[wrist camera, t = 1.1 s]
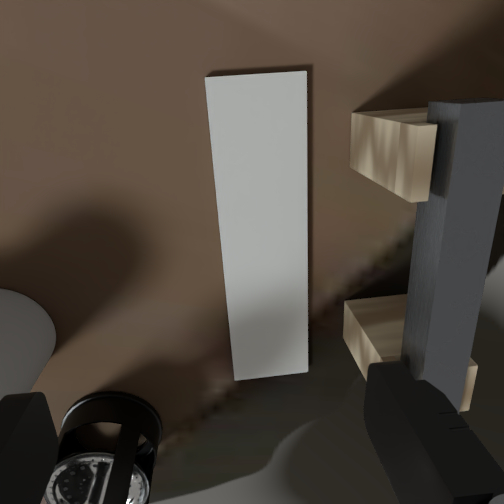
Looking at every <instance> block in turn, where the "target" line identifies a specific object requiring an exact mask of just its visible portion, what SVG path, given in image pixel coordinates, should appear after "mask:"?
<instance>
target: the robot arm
mask: <svg viewBox="0 0 504 504" xmlns="http://www.w3.org/2000/svg"><path fill="white" fill-rule="evenodd" d="M364 420H365V425H366V429H367V432H368V435H369V437H370V439H371V441H372V444H373V446H374V448H375V450H376V453H377V455H378V457H379V459H380V462H381V464H382V466H383V468H384V470H385V473H386V475H387V477H388V479H389V481H390V484H391V486H392V488H393V490H394V492H395V495H396V497H397V499H398V501H399V504H504V472H503V470H502V469H501V468H500V466H499V465H498V464H497V462H496V461H495V460H494V458H493V457H492V456H491V455H490V453H489V452H488V451H487V449H486V448H485V447H484V445H483V444H482V443H481V441H480V440H479V439H478V437H477V436H476V435H475V433H474V432H473V431H472V430H470V429H469V426H468V424H467V423H466V422H465V420H464V419H463V418H462V416H461V415H458V411H457V410H456V408H455V407H454V406H453V404H452V403H451V402H450V400H449V399H448V398H447V397H446V395H445V394H444V393H443V392H441V391H440V390H439V389H437V388H436V387H435V386H433V385H432V384H430V383H429V382H428V381H426V380H415V379H414V377H413V376H412V375H411V373H410V372H409V370H408V369H407V367H406V366H405V365H404V363H403V362H402V361H399V360H398V361H387V362H376V363H370V364H369V366H368V372H367V382H366V391H365V401H364ZM58 451H59V443H58V437H57V433H56V430H55V427H54V423H53V420H52V417H51V413H50V410H49V407H48V404H47V400H46V397H45V395H44V394H43V393H42V392H31V393H20V394H9V395H6V396H4V397H3V398H2V399H1V400H0V504H40V503H41V501H42V498H43V496H44V493H45V491H46V488H47V486H48V483H49V481H50V478H51V476H52V473H53V471H54V469H55V466H56V463H57V458H58Z"/></svg>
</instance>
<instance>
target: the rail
mask: <svg viewBox="0 0 504 504" xmlns="http://www.w3.org/2000/svg"><path fill="white" fill-rule="evenodd" d="M426 123H430V124H436V125H437V131H436V139H435V147H434V155H433V164H432V172H431V180H430V188H429V197H428V201H422V202H418V203H417V212H416V221H415V230H414V239H413V248H412V257H411V266H410V275H409V284H408V293H407V303H406V312H405V321H404V330H403V339H402V348H401V357H400V361H402V362H403V363H404V365H405V366H406V367H407V369H408V370H409V372H410V373H411V375H412V376H413V377H414V379H415V380H426V381H428V382H429V383H430V384H432V385H433V386H435V387H436V388H437V389H439V390H440V391H441V392H443V393H444V394H445V395H446V397H447V398H448V399H449V400H450V402H451V403H452V404H453V406H454V407H455V408H456V410H457V411H458V415H459V410H460V405H461V400H462V395H463V390H464V385H465V380H466V375H467V370H468V365H469V360H470V355H471V350H472V344H473V339H474V334H475V329H476V324H477V319H478V314H479V309H480V304H481V298H482V294H483V288H484V283H485V278H486V273H487V268H488V263H489V258H490V253H491V248H492V243H493V238H494V233H495V228H496V223H497V217H498V212H499V207H500V202H501V197H502V192H503V187H504V99H497V98H469V99H455V100H441V101H429V103H428V112H427V121H426Z"/></svg>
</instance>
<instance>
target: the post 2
mask: <svg viewBox="0 0 504 504" xmlns="http://www.w3.org/2000/svg"><path fill="white" fill-rule="evenodd" d="M406 303H407V294H402V295H393V296H384V297H375V298H365V299H356V300H347V301H345V302H344V328H343V338H344V340H345V342H346V344H347V346H348V348H349V350H350V351H351V353H352V355H353V357H354V359H355V361H356V363H357V364H358V366H359V368H360V370H361V372H362V374H363V376H364V377H365V379H366V381H367V372H368V366H369V364H370V363H376V362H387V361H398V360H399V361H400V357H401V348H402V339H403V330H404V321H405V312H406ZM477 368H478V365H477V364H476V363H475V362H474V361H473V360H472V359H471V358H470V360H469V365H468V370H467V375H466V380H465V385H464V390H463V395H462V400H461V405H460V410H459V411H467V410H469V407H470V402H471V396H472V392H473V387H474V383H475V378H476V373H477Z"/></svg>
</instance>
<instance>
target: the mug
mask: <svg viewBox="0 0 504 504" xmlns="http://www.w3.org/2000/svg"><path fill="white" fill-rule="evenodd" d="M55 343H56V331H55V327H54V324H53V322H52V320H51V318H50V316H49V315H48V314H47V312H46V311H45V310H44V309H43V308H42V307H41V306H40V305H39V304H38V303H36V302H35V301H34V300H32V299H30V298H29V297H27V296H25V295H23V294H20V293H18V292H15V291H11V290H6V289H0V400H1V399H2V398H3V397H4V396H6V395H9V394H20V393H29V392H30V391H31V389H32V387H33V385H34V384H35V382H36V380H37V379H38V377H39V375H40V373H41V372H42V370H43V369H44V367H45V365H46V364H47V362H48V361H49V359H50V357H51V355H52V353H53V351H54V348H55Z"/></svg>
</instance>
